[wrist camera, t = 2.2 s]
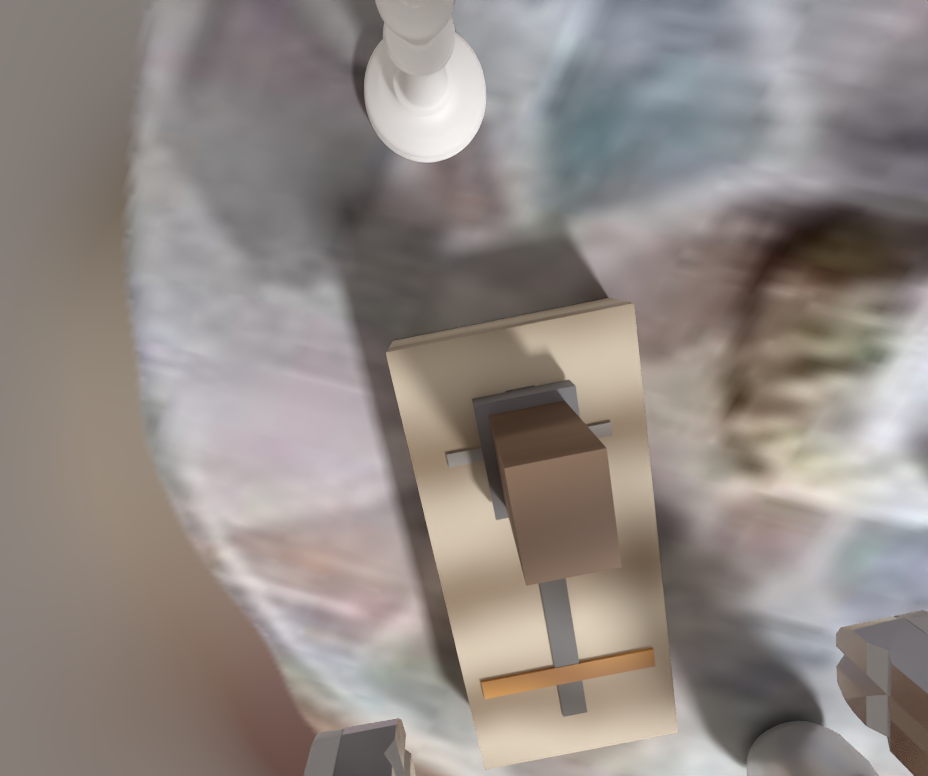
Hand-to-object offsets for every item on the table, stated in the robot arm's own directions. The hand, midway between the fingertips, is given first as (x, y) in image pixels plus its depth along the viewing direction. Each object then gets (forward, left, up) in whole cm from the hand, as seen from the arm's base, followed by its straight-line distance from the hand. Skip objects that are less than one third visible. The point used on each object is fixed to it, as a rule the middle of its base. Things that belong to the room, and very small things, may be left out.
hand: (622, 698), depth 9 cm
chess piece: (-12, -8, -15) cm, 21 cm away
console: (+5, +3, -15) cm, 16 cm away
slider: (0, 0, -12) cm, 12 cm away
